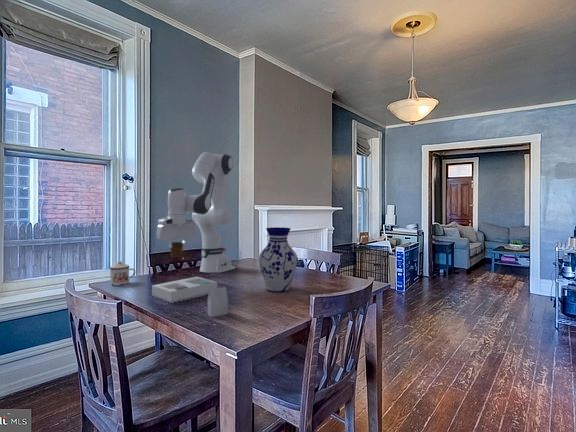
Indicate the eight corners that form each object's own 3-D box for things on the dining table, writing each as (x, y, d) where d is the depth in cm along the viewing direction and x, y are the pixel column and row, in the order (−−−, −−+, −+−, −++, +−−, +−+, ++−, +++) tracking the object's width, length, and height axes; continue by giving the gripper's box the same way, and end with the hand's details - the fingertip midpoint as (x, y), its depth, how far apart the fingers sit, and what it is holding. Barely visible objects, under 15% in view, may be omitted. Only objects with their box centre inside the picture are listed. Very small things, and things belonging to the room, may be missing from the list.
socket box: (197, 286, 171) (197, 275, 171) (217, 292, 160) (217, 281, 160) (151, 296, 153) (151, 284, 152) (170, 303, 142) (170, 291, 142)
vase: (293, 295, 155) (293, 230, 154) (253, 293, 159) (253, 229, 157) (300, 285, 174) (300, 227, 172) (264, 283, 177) (264, 226, 176)
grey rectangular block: (227, 314, 130) (227, 288, 130) (211, 317, 126) (210, 290, 126) (224, 311, 133) (224, 286, 133) (207, 314, 130) (207, 288, 129)
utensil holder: (172, 257, 168) (172, 233, 167) (168, 255, 173) (169, 232, 173) (184, 256, 171) (184, 233, 171) (180, 255, 176) (180, 232, 176)
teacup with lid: (111, 286, 169) (111, 263, 169) (108, 282, 177) (108, 260, 176) (137, 283, 176) (136, 261, 175) (133, 279, 183) (133, 258, 183)
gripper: (191, 219, 181) (191, 244, 182) (154, 220, 166) (154, 248, 167) (198, 219, 177) (198, 245, 178) (161, 221, 162) (161, 249, 162)
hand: (176, 247), depth 172 cm, fingers closed on utensil holder, 5 cm apart
